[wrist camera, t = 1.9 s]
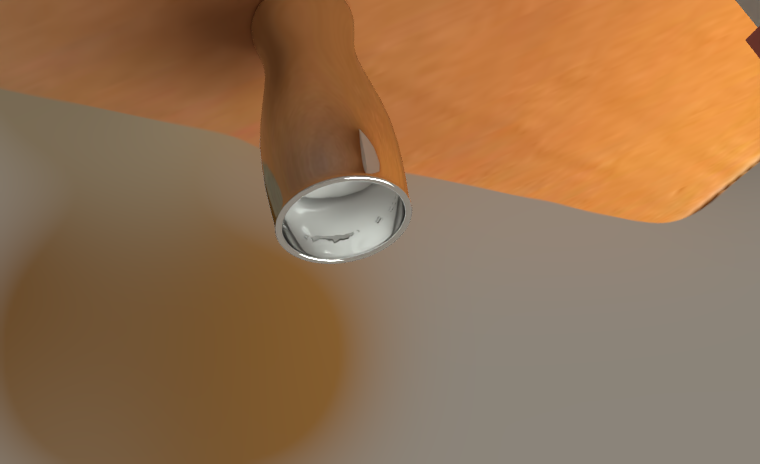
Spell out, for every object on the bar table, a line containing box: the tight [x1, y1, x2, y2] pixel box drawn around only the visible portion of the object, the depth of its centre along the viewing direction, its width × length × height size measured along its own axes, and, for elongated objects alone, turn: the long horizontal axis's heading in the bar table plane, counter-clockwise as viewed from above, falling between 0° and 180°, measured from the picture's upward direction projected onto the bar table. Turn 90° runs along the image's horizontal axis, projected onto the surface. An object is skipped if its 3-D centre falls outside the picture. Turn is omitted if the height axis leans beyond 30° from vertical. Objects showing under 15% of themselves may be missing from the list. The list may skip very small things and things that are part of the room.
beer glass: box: [251, 0, 412, 264], centre depth 38 cm, size 7×7×15 cm
